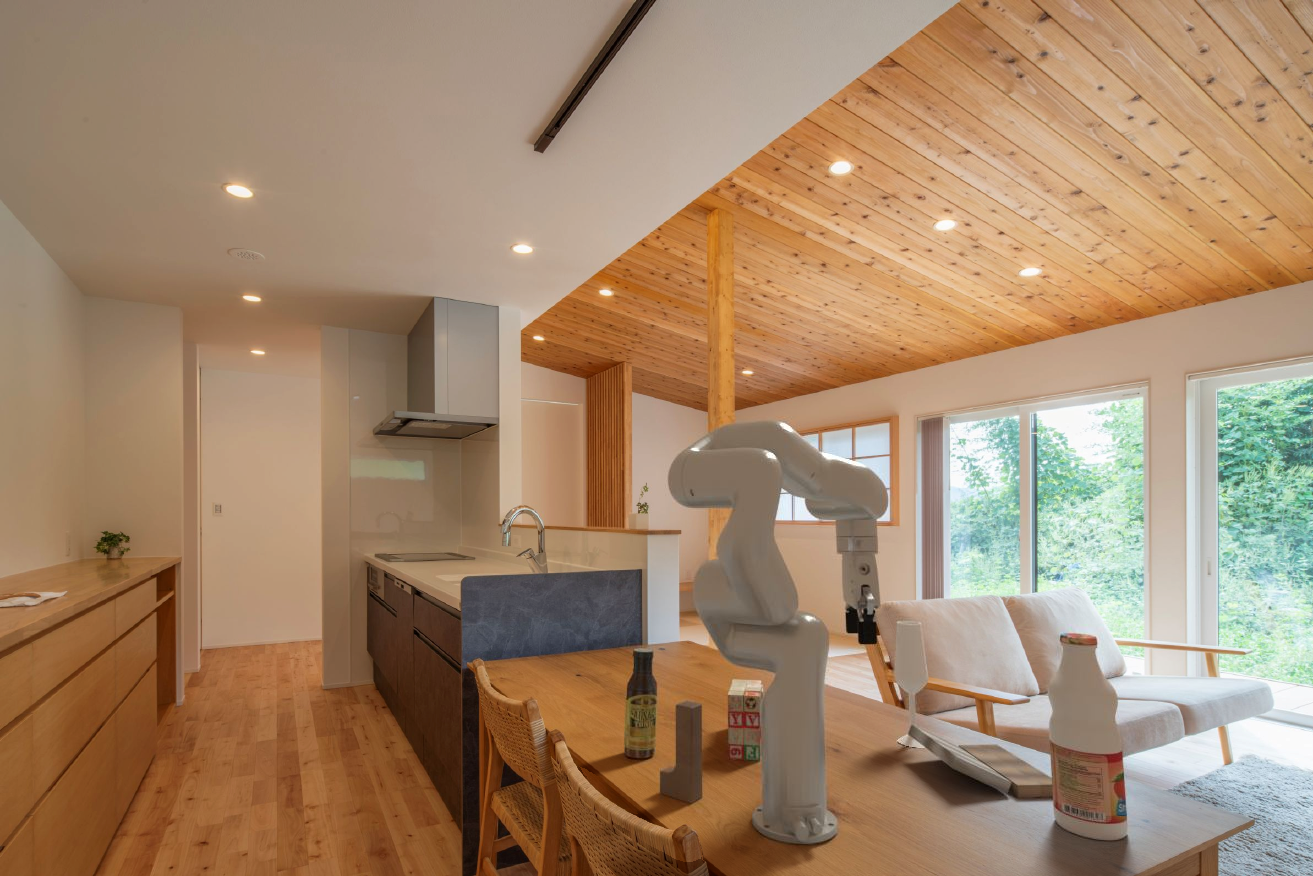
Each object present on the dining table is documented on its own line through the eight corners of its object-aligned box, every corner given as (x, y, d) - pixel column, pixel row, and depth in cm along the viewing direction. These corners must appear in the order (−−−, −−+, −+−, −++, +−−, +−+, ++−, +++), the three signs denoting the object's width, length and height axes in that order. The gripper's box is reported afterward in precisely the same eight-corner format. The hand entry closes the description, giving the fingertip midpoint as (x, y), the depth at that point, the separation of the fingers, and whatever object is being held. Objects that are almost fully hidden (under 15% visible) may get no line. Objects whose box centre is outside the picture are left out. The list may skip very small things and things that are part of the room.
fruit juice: (1044, 812, 109) (1033, 629, 112) (1109, 816, 107) (1096, 631, 110) (1069, 839, 99) (1057, 640, 102) (1141, 844, 98) (1127, 641, 101)
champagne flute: (900, 735, 146) (895, 619, 149) (933, 741, 143) (928, 622, 145) (893, 744, 140) (888, 623, 143) (928, 750, 137) (923, 626, 139)
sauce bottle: (627, 762, 130) (628, 653, 133) (620, 751, 136) (621, 647, 139) (661, 758, 132) (661, 651, 134) (652, 748, 138) (652, 646, 140)
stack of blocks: (736, 726, 153) (735, 669, 154) (764, 728, 152) (763, 670, 153) (727, 760, 132) (727, 693, 133) (761, 762, 131) (760, 695, 132)
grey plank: (1007, 794, 115) (1011, 782, 115) (952, 768, 115) (957, 757, 115) (954, 756, 133) (958, 746, 133) (907, 734, 133) (911, 724, 133)
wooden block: (702, 797, 114) (702, 703, 116) (691, 804, 111) (691, 707, 113) (670, 788, 118) (670, 697, 120) (659, 794, 115) (659, 701, 117)
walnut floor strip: (1063, 797, 114) (1062, 784, 115) (1018, 798, 114) (1018, 785, 114) (997, 755, 134) (996, 744, 134) (959, 755, 134) (958, 745, 134)
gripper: (890, 548, 121) (895, 648, 120) (865, 542, 138) (869, 629, 137) (847, 549, 122) (851, 649, 120) (827, 542, 139) (831, 629, 137)
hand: (861, 638), depth 129 cm, fingers open, 9 cm apart
